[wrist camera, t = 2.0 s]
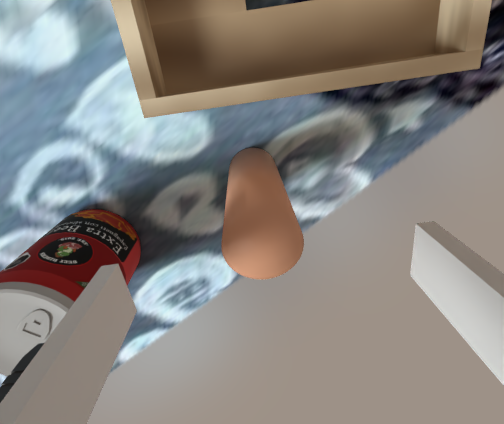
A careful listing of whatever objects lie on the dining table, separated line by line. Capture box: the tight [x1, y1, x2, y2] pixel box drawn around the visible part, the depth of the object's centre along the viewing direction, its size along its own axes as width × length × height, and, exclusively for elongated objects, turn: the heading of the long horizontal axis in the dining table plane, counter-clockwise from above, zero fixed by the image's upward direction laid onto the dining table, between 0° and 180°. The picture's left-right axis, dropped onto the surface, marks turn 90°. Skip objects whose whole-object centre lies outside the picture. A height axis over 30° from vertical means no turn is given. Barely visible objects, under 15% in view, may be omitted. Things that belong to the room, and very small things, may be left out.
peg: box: [222, 148, 304, 279], centre depth 20 cm, size 4×4×12 cm
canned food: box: [0, 209, 141, 376], centre depth 23 cm, size 8×8×11 cm
